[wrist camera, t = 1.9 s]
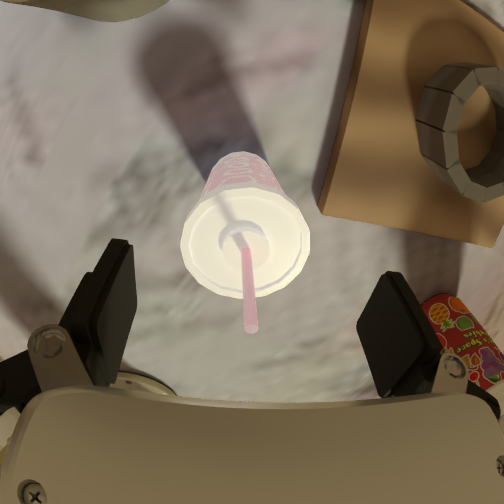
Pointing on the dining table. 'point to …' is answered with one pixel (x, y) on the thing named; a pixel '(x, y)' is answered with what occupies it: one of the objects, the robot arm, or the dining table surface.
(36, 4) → the coffee mug
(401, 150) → the socket board
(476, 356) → the smoothie
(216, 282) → the beverage cup
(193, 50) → the dining table surface
